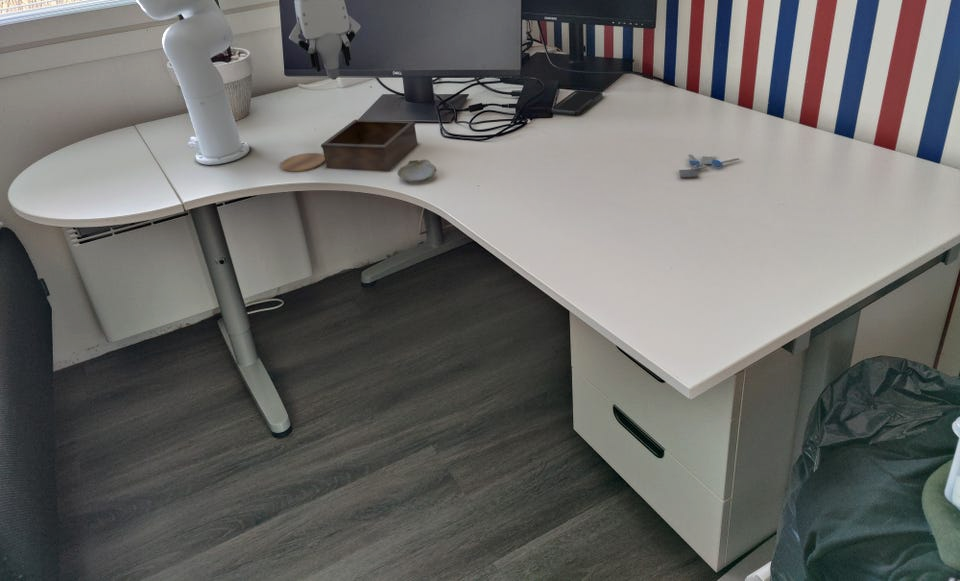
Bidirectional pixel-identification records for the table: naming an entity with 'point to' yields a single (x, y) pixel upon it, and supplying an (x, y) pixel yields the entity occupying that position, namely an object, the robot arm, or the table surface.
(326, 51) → the lightbulb
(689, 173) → the key chain
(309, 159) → the coaster
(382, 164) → the wooden frame
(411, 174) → the seashell
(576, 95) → the phone
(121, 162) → the table surface
